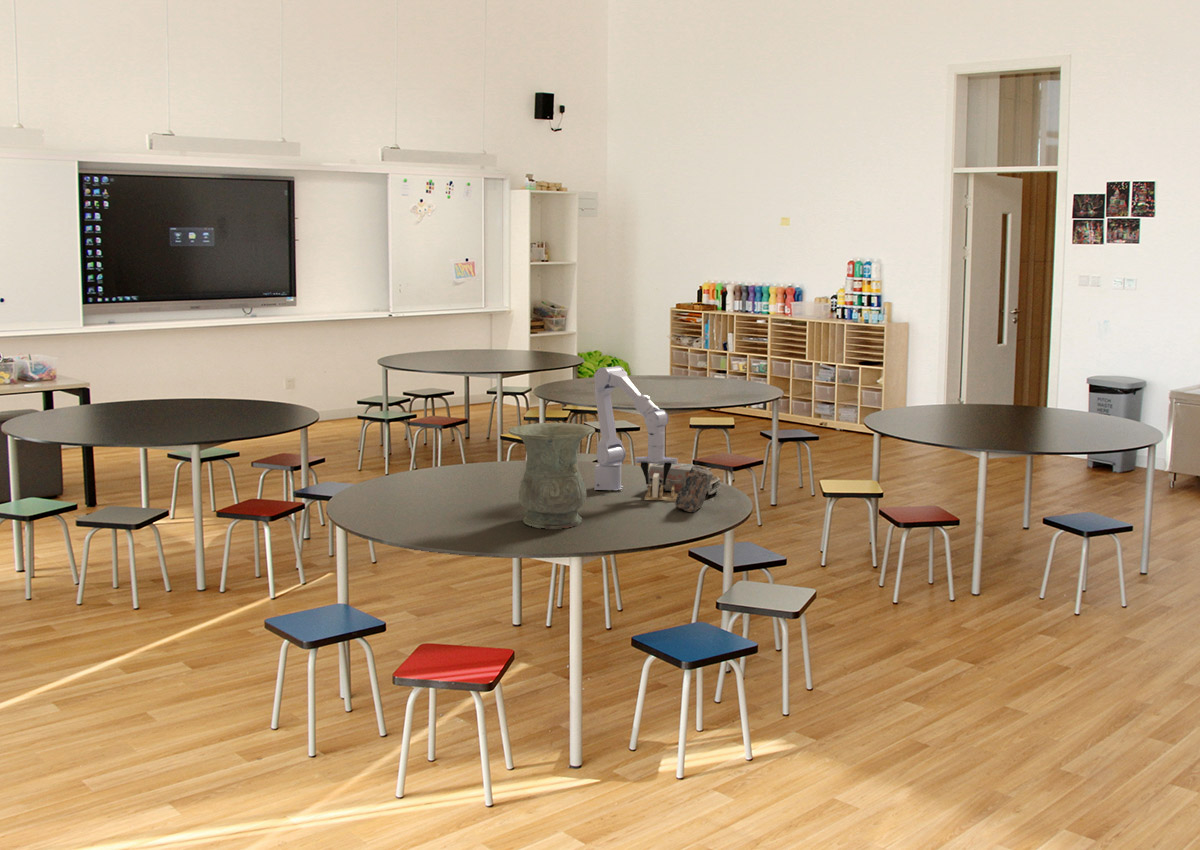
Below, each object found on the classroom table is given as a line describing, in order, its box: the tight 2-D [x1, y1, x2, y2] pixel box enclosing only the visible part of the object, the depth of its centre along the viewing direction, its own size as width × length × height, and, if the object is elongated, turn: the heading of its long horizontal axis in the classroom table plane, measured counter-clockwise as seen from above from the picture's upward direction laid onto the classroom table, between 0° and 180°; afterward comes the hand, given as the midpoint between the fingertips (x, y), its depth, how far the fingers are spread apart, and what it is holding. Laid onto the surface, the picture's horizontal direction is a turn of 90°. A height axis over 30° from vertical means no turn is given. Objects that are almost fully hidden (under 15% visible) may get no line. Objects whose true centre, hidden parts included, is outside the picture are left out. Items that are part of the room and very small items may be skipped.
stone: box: [674, 464, 714, 513], centre depth 372 cm, size 13×13×15 cm
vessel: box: [508, 422, 596, 530], centre depth 352 cm, size 27×27×30 cm
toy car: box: [646, 462, 721, 499], centre depth 397 cm, size 11×25×10 cm, turn 63°
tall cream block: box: [652, 473, 659, 498], centre depth 388 cm, size 2×7×7 cm, turn 173°
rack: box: [644, 484, 678, 502], centre depth 388 cm, size 11×9×4 cm
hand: (655, 484), depth 388 cm, fingers open, 5 cm apart
